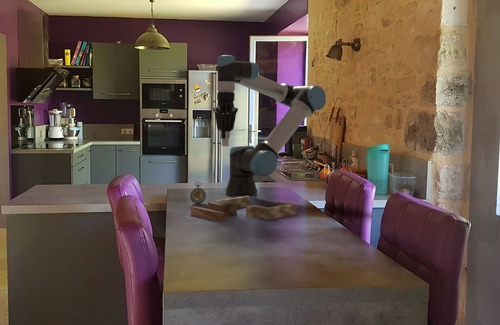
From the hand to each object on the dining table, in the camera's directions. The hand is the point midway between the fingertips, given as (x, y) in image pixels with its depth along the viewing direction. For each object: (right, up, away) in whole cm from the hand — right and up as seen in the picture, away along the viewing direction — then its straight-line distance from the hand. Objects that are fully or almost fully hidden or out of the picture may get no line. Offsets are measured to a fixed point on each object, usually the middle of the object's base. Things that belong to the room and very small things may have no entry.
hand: (225, 146), depth 236 cm
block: (0, -28, -28) cm, 40 cm away
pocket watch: (-10, -26, -12) cm, 30 cm away
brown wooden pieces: (+8, -27, -26) cm, 39 cm away
